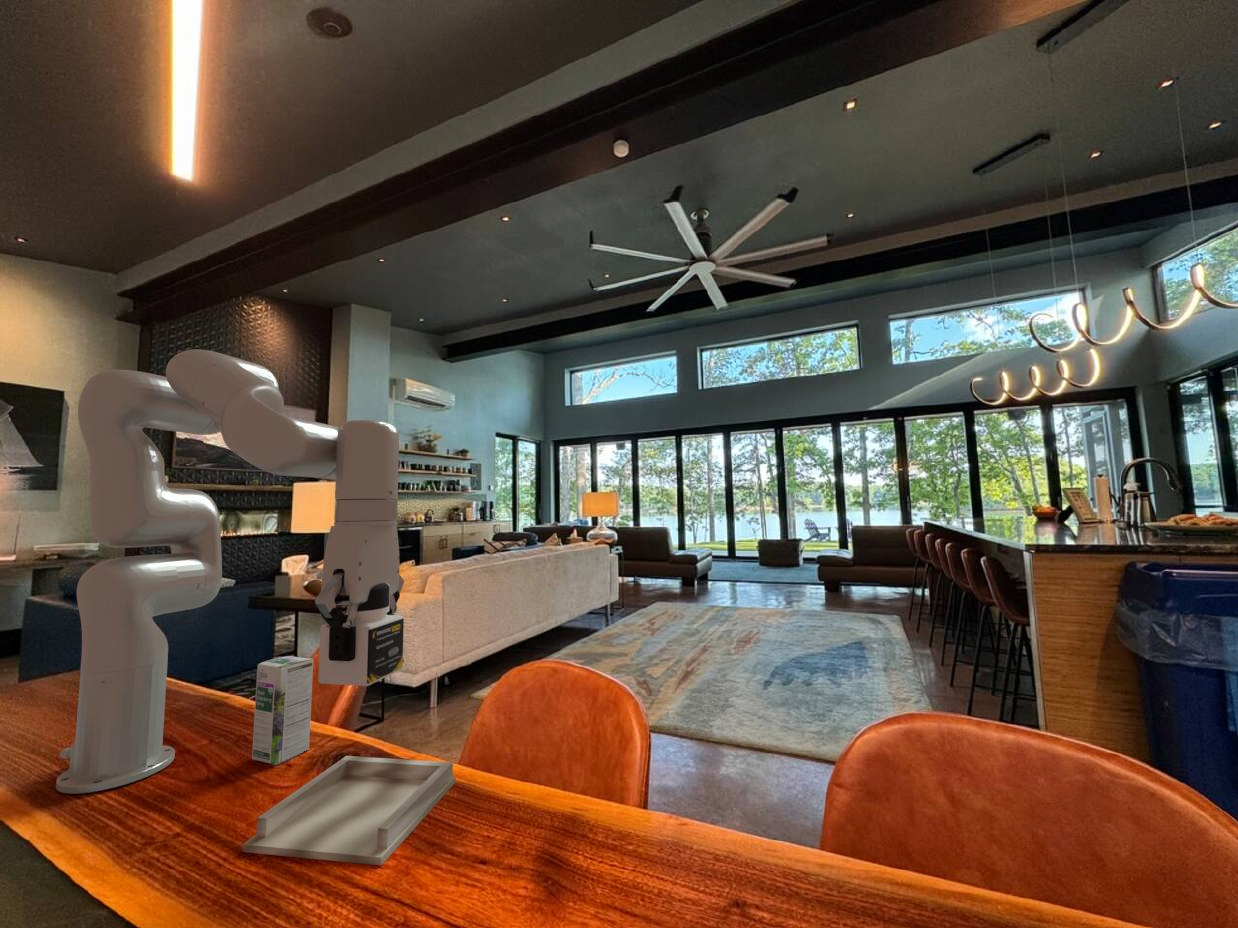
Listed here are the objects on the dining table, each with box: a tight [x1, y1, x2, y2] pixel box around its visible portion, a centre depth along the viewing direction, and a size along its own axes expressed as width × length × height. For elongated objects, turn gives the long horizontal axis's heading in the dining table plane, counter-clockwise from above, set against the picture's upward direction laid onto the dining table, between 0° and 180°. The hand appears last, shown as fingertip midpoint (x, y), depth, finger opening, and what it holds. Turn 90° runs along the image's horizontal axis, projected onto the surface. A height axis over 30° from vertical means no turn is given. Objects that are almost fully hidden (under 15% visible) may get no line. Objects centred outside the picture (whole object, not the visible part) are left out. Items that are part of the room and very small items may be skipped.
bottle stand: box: [242, 755, 457, 866], centre depth 65 cm, size 17×17×3 cm
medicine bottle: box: [318, 583, 405, 687], centre depth 67 cm, size 7×7×12 cm
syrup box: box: [251, 655, 314, 766], centre depth 82 cm, size 6×6×14 cm
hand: (363, 650), depth 67 cm, fingers closed on medicine bottle, 7 cm apart
